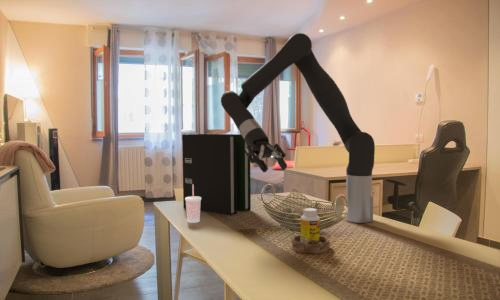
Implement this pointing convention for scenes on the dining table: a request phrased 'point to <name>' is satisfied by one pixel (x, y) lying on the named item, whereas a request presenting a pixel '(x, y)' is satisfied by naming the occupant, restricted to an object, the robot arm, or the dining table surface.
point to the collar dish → (310, 245)
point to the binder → (217, 172)
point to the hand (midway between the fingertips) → (275, 169)
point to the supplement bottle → (310, 226)
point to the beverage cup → (193, 207)
